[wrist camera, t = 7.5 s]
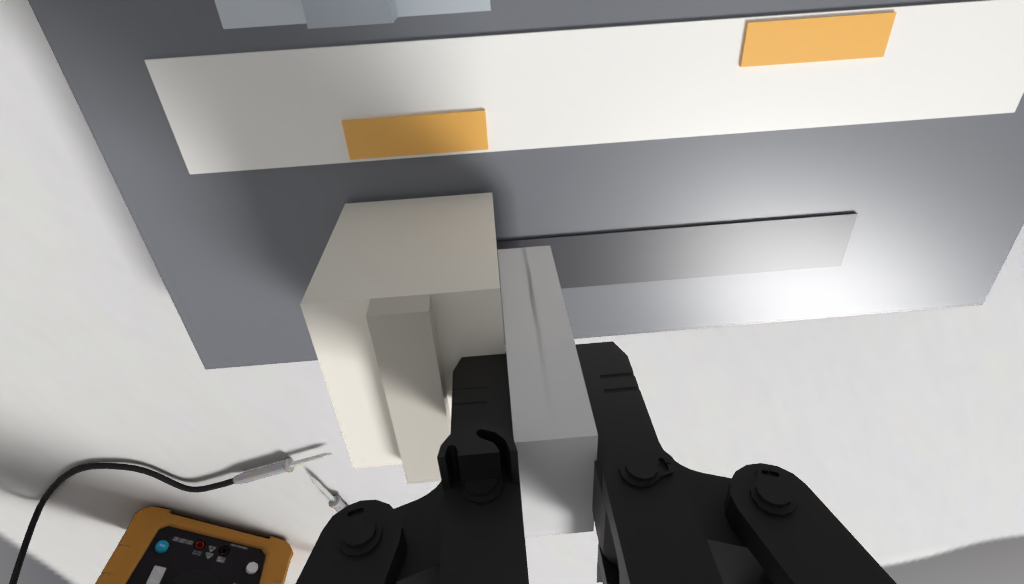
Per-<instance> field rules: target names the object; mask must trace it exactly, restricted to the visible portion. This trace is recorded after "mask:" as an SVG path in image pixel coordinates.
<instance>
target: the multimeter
mask: <svg viewBox="0 0 1024 584" xmlns="http://www.w3.org/2000/svg"><path fill="white" fill-rule="evenodd" d="M330 454H332V453H324V454H320V455H316V456H312V457H309V458H305V459H302V460H298V461H294V462H293V460H292V459H291V458H288V459H286V460H285V461H282V462H279V463H275V464H271V465H268V466H264V467H261V468H257V469H254V470H250V471H247V472H243V473H241V474H239V475H237V476H235V477H234V478H232V479H229V480H225V481H222V482H218V483H214V484H210V485H206V486H199V487H191V486H187V485H184V484H181V483H179V482H177V481H174V480H172V479H170V478H168V477H166V476H164V475H162V474H160V473H158V472H155V471H152V470H150V469H147V468H143V467H139V466H135V465H128V464H117V463H90V464H85V465H80V466H78V467H75V468H73V469H71V470H69V471H67V472H66V473H64V474H63V475H62V476H60V477H59V478H58V479H57V480H56V481H55V482H54V483H53V484H52V485H51V486H50V487H49V489H48V490H47V491H46V493H45V494H44V495H43V496H42V498H41V500H40V502H39V503H38V505H37V507H36V509H35V512H34V514H33V516H32V519H31V521H30V524H29V526H28V529H27V532H26V535H25V537H24V540H23V543H22V546H21V549H20V552H19V555H18V558H17V561H16V564H15V567H14V570H13V573H12V577H11V580H10V583H9V584H17V580H18V577H19V574H20V570H21V567H22V564H23V561H24V558H25V555H26V552H27V549H28V546H29V543H30V540H31V537H32V534H33V532H34V529H35V526H36V523H37V521H38V518H39V516H40V514H41V511H42V509H43V507H44V505H45V503H46V501H47V500H48V498H49V496H50V495H51V494H52V493H53V491H54V490H55V489H56V488H57V487H58V486H59V485H60V484H61V483H62V482H63V481H65V480H66V479H67V478H69V477H70V476H72V475H74V474H76V473H79V472H81V471H85V470H90V469H119V470H128V471H135V472H139V473H143V474H146V475H149V476H152V477H154V478H156V479H159V480H161V481H163V482H165V483H167V484H169V485H171V486H173V487H176V488H178V489H181V490H184V491H188V492H204V491H209V490H213V489H217V488H221V487H225V486H229V485H232V484H241V483H247V482H251V481H254V480H258V479H262V478H265V477H269V476H272V475H276V474H280V473H283V472H292V471H293V470H294V466H297V465H300V464H304V463H307V462H311V461H315V460H318V459H322V458H325V457H326V456H328V455H330ZM310 477H311V476H310ZM311 479H312V481H313V483H314V484H315V485H316V486H317V487H318V488H319V489H320V490H321V491H322V492H323V493H324V494H325V495H326V496H327V497H328V498H329V499H330V501H329V506H330V507H331V508H334V509H335V510H336V511H337V512H339V511H340V510H342V509H343V508H344V507H346V506H347V505H346V504H345V503H344V502H343V501H342V500H341V497H340V496H339V495H335V496H333V495H332V494H331V493H330V492H329V491H328V490H327V489H326V488H325V487H324V486H323V485H322V484H321V483H320V482H319V481H318V480H317V479H315V478H313V477H311ZM170 512H171V510H170V509H164V508H158V507H153V506H152V507H146V508H144V509H142V510H140V511H138V512H136V513H135V514H134V516H133V518H132V520H131V523H130V525H129V527H128V529H127V530H126V532H125V534H124V535H123V537H122V539H121V540H120V542H119V544H118V546H117V547H116V549H115V551H114V552H113V554H112V556H111V558H110V559H109V561H108V563H107V564H106V566H105V568H104V569H103V571H102V573H101V575H100V576H99V578H98V580H97V581H96V583H95V584H284V582H285V579H286V575H287V571H288V567H289V564H290V560H291V558H292V556H293V551H292V549H291V546H290V544H288V543H287V542H286V541H284V540H281V539H278V538H276V537H273V536H270V538H269V539H267V538H263V537H259V536H255V535H252V534H248V533H244V532H240V531H236V530H232V529H228V528H224V527H221V526H217V525H213V524H209V523H205V522H201V521H197V520H194V519H190V518H186V517H182V516H178V515H174V514H170Z"/></svg>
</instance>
